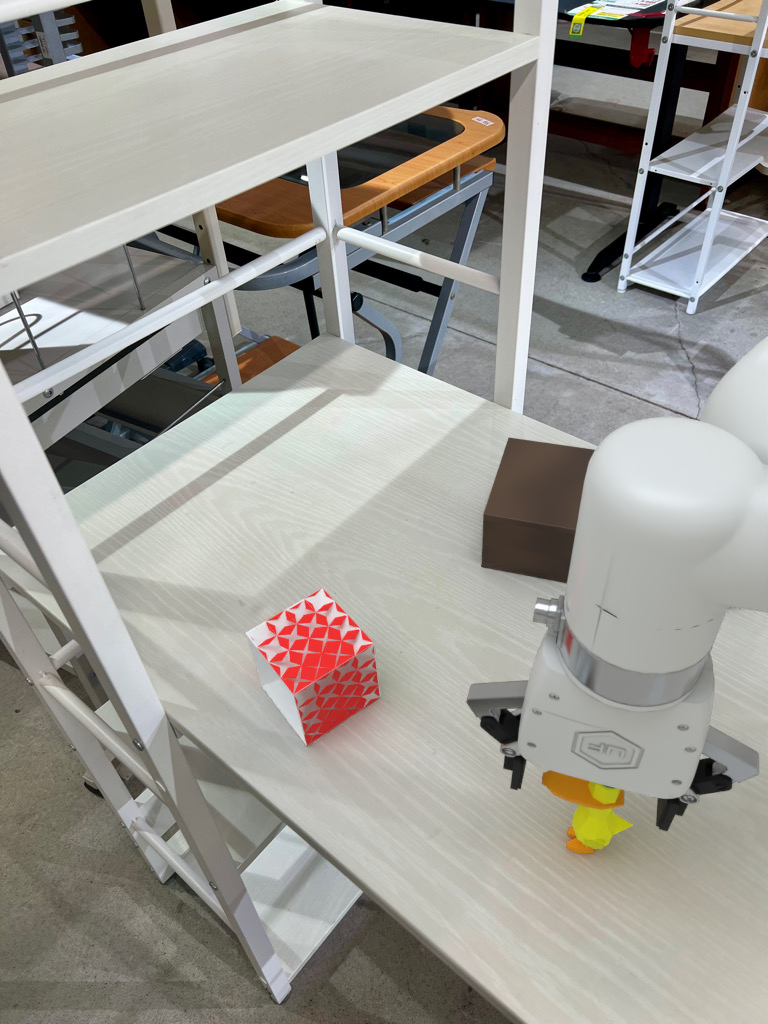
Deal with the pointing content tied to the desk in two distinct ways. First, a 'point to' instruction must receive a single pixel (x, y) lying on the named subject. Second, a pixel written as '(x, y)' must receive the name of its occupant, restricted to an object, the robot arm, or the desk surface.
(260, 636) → the red patterned cube
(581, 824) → the toy figure
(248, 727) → the desk surface
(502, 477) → the cabinet
